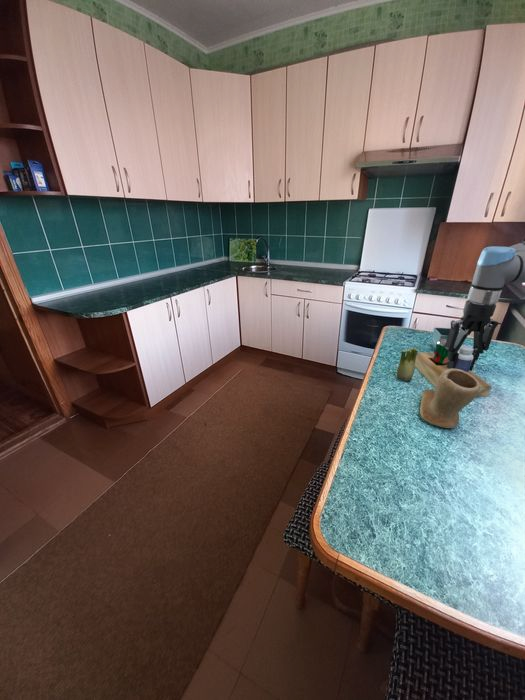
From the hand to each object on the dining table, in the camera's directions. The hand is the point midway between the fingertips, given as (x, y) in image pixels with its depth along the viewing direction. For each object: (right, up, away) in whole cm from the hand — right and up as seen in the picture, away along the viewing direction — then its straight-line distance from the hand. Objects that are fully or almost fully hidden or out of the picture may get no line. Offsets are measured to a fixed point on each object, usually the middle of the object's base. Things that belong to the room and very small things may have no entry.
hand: (459, 368), depth 97 cm
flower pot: (+10, +6, +25) cm, 28 cm away
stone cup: (-13, -13, -11) cm, 21 cm away
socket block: (0, -4, +7) cm, 8 cm away
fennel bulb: (-15, -4, +7) cm, 17 cm away
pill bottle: (0, -2, +1) cm, 2 cm away
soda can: (0, -1, +12) cm, 12 cm away
